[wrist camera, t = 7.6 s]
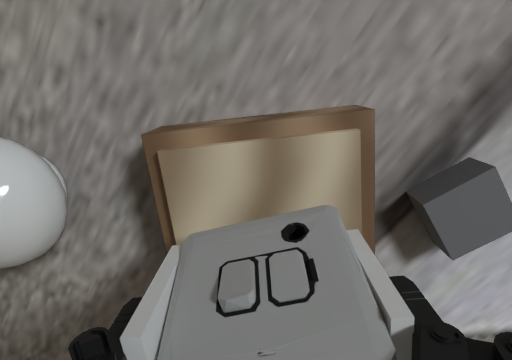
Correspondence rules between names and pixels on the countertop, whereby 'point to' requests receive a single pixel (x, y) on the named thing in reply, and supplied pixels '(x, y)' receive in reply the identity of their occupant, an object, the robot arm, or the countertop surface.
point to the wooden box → (263, 169)
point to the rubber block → (463, 207)
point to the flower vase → (28, 204)
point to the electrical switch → (274, 294)
